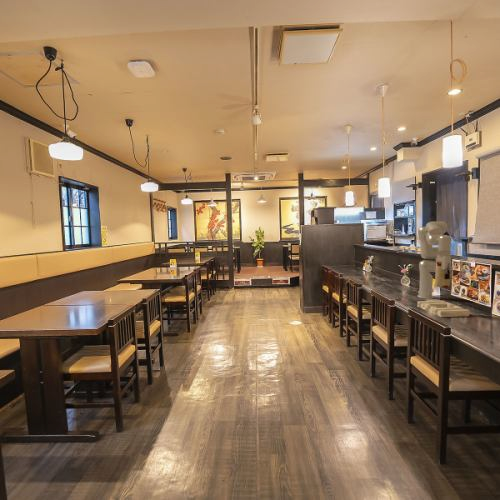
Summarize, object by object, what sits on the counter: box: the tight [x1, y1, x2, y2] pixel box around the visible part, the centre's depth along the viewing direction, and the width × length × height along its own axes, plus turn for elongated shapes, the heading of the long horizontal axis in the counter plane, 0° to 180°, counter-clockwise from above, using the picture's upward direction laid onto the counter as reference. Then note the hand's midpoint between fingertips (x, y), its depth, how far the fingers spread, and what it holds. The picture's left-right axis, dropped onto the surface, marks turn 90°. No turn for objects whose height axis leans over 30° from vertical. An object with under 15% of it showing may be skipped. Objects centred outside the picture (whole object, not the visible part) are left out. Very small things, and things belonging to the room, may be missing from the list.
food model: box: [434, 260, 453, 289], centre depth 217 cm, size 10×7×20 cm
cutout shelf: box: [416, 300, 470, 318], centre depth 219 cm, size 26×20×4 cm
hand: (443, 277), depth 217 cm, fingers closed on food model, 7 cm apart
